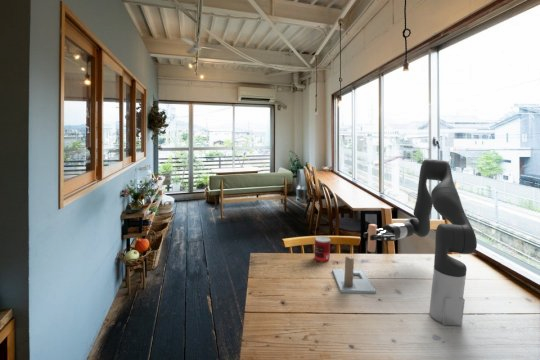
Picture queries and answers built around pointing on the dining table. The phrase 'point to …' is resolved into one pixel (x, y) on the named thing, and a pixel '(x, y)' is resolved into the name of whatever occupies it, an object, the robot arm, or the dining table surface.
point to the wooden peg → (371, 231)
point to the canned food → (322, 249)
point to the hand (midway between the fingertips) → (367, 236)
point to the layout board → (358, 282)
